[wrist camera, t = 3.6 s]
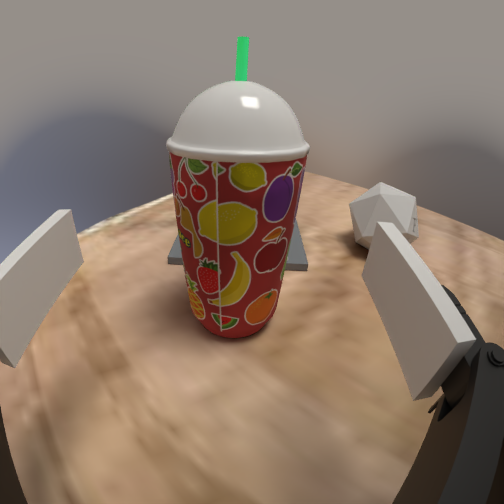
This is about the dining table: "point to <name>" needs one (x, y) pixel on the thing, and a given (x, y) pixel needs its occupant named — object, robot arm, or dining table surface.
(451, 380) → the robot arm
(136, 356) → the dining table surface
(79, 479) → the dining table surface
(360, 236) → the die
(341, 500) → the dining table surface
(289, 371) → the dining table surface
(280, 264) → the smoothie
